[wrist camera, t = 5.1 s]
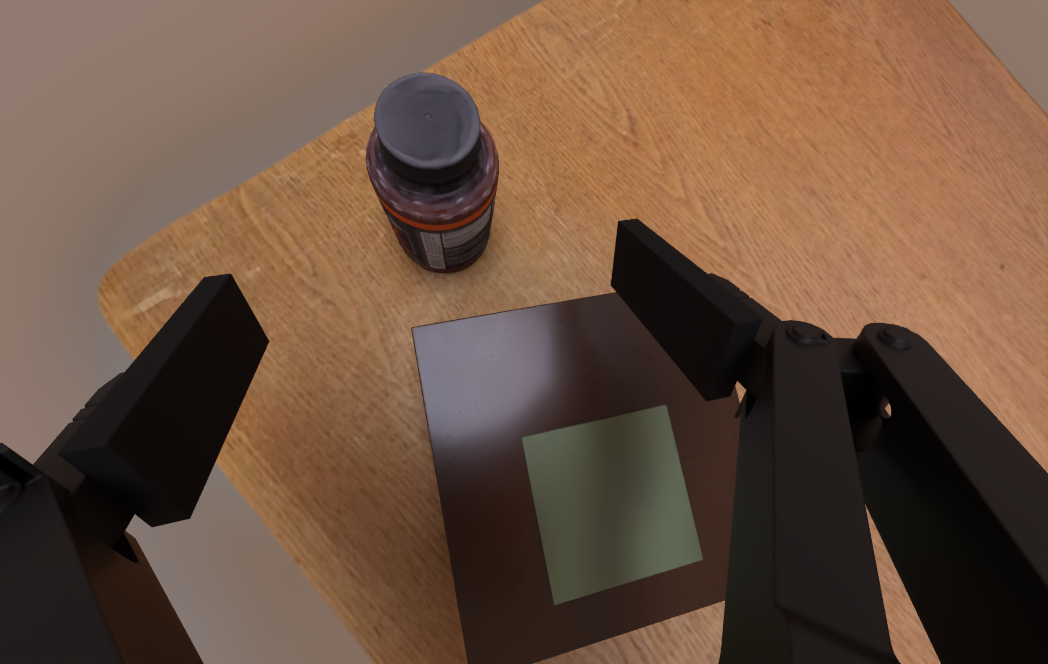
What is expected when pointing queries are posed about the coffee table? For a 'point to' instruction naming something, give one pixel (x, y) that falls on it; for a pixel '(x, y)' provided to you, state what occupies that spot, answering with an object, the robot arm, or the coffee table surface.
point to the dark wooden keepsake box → (573, 476)
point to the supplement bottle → (434, 170)
